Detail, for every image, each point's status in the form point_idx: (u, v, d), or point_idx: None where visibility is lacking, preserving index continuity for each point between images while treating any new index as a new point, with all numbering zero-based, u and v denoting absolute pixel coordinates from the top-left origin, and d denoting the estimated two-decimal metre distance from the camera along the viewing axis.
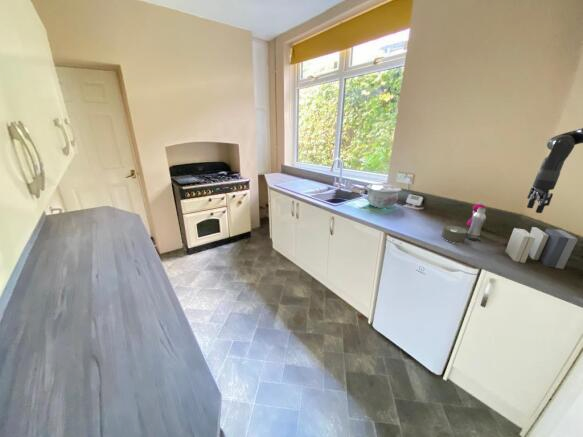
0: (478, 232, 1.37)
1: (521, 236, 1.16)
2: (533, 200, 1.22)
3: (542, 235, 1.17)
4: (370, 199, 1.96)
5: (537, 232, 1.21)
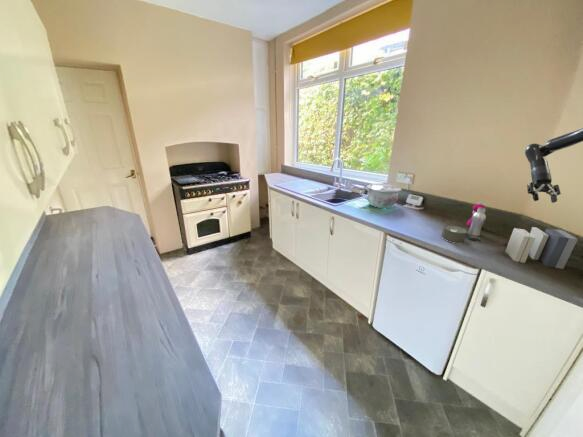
0: (478, 232, 1.37)
1: (521, 236, 1.16)
2: (553, 195, 1.30)
3: (542, 235, 1.17)
4: (370, 199, 1.96)
5: (537, 232, 1.21)
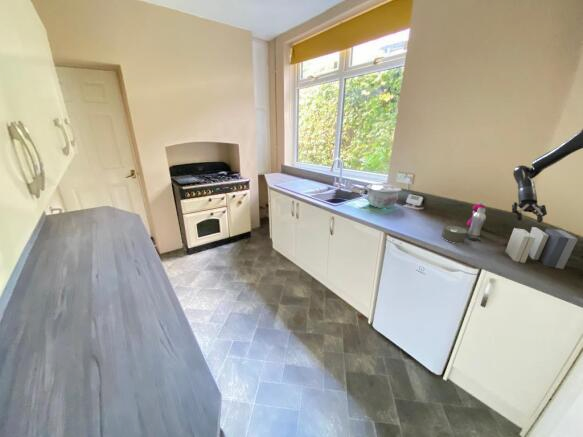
0: (478, 232, 1.37)
1: (521, 236, 1.16)
2: (538, 215, 1.30)
3: (542, 235, 1.17)
4: (370, 199, 1.96)
5: (537, 232, 1.21)
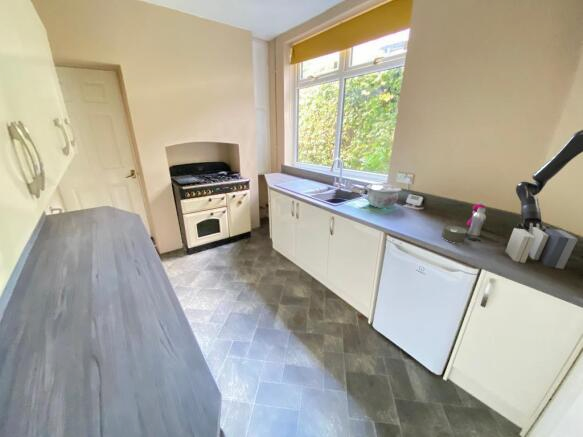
0: (478, 232, 1.37)
1: (521, 236, 1.16)
2: None
3: (542, 235, 1.17)
4: (370, 199, 1.96)
5: (537, 232, 1.21)
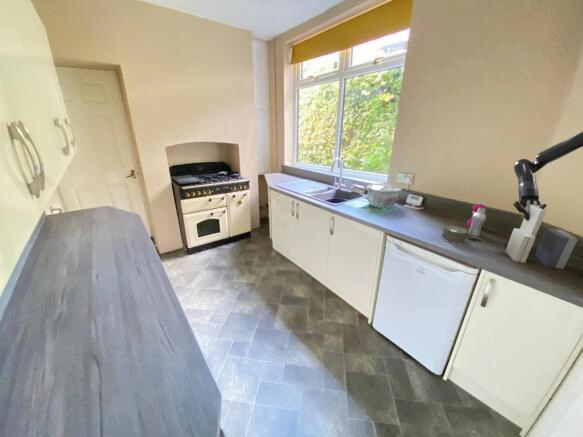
0: (478, 232, 1.37)
1: (521, 236, 1.16)
2: None
3: (539, 211, 1.14)
4: (370, 199, 1.96)
5: (534, 209, 1.18)
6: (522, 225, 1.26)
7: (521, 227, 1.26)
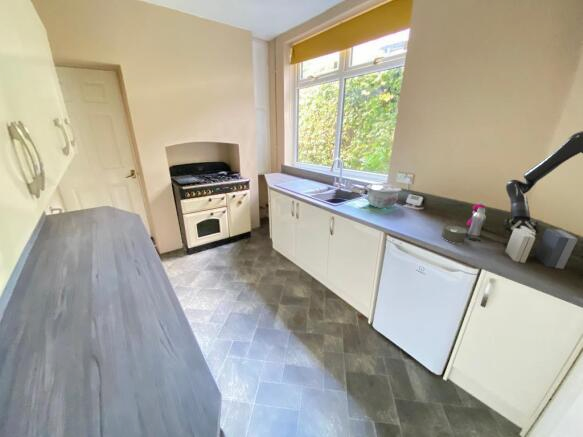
0: (478, 232, 1.37)
1: (521, 236, 1.16)
2: None
3: None
4: (370, 199, 1.96)
5: None
6: None
7: None
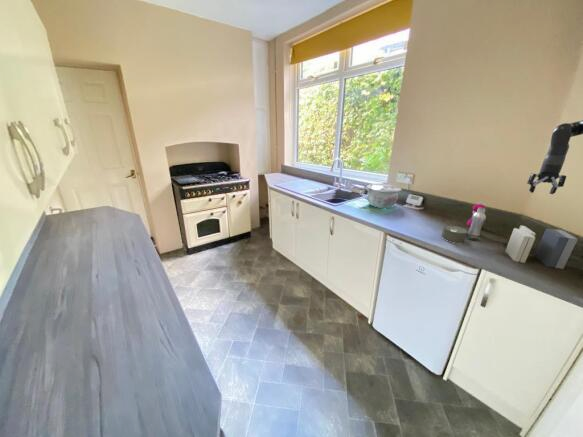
0: (478, 232, 1.37)
1: (521, 236, 1.16)
2: (554, 186, 1.28)
3: None
4: (370, 199, 1.96)
5: None
6: None
7: None
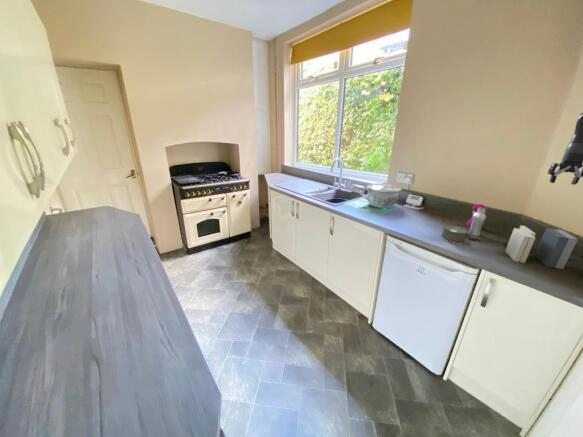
0: (478, 232, 1.37)
1: (521, 236, 1.16)
2: (576, 176, 1.22)
3: None
4: (370, 199, 1.96)
5: None
6: None
7: None
